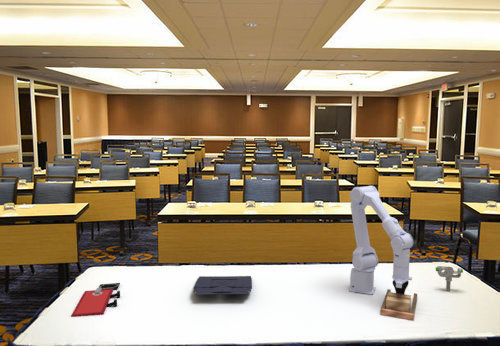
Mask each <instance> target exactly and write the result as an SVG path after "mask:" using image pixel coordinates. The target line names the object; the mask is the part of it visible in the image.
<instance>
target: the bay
mask: <svg viewBox="0 0 500 346" xmlns="http://www.w3.org/2000/svg"><path fill="white" fill-rule="evenodd" d="M389 292H392V290H391V289H389V288H388V289H387V290H386V293H385V296H384V298H383V301H382V304H381V306H380V310H379V311H380V312H379V314H380V315H382V316H385V317H386V316H387V317H391V318H397V319H403V320H408V321H414V319H415V314H416V308H417V307H416V306H417V301H418V293H415V292H414V293H413V298H412V301H411V308H410V313H406V312H401V311H395V310H389V309H386V299H387V295H388V293H389Z"/></svg>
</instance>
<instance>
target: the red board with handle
mask: <svg viewBox="0 0 500 346" xmlns="http://www.w3.org/2000/svg"><path fill="white" fill-rule="evenodd" d="M120 284H121V283H120V282H115V283H114V282H112V283H101V284H99V286H98V287H97V288H96V289H94V290H84V292H83V294H82V295H81V298H80V300H79V301H78V303H77V304H76V306H75V308H74V309H73V312H72V314H71V315H70V316H71V318H73V317H75V318H77V317H89V316H90V317H91V316H103V315H104V314H105V311H106V310H107V308H109V307H112V306H113V308H117V307H118V299H121V290H119V287H120ZM115 289H116V290H117V292H115V293H113V292H114V290H115ZM112 298H116V299H114V300H113V301H112V302H110V299H112Z"/></svg>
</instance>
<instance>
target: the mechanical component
mask: <svg viewBox="0 0 500 346" xmlns="http://www.w3.org/2000/svg"><path fill="white" fill-rule="evenodd" d="M435 272H437V275H438V276H439V277H440V278H445V279H444V280H445V284H446V286H445V287H446V288H445V290H446V292H450V291H451V282H452V281H453V279H454V278H455V279H459V278H461V276H462V273H464V270H463V268H460V267H458V268H457V270H455V269H454V268H453V267H452V266H447V265H446V266H443V265H437V266H436V267H435Z"/></svg>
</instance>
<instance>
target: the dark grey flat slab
mask: <svg viewBox="0 0 500 346" xmlns="http://www.w3.org/2000/svg"><path fill="white" fill-rule="evenodd" d="M252 279H253V277H252V276H251V275H237V276H236V275H234V276H233V275H231V276H230V275H229V276H228V275H227V276H216V275H215V276H207V275H206V276H205V275H204V276H201V275H200V276H198V278H197V279H196V281H195V284H194V286H193V288H192V290H193V293H195V295H248V294H249V292H252V290H253V280H252Z"/></svg>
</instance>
